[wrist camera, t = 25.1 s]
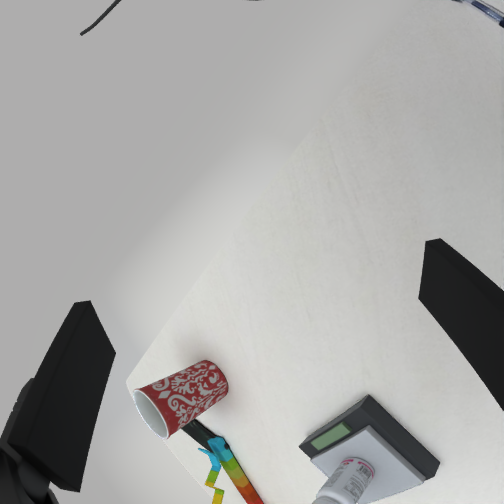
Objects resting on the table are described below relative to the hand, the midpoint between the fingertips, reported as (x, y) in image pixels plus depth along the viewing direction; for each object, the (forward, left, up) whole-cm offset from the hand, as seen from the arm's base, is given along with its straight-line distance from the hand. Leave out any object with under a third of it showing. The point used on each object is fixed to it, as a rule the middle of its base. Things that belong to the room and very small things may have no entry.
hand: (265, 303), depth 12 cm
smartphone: (-3, -59, -21) cm, 62 cm away
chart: (+13, -61, -21) cm, 65 cm away
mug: (-8, -42, -21) cm, 47 cm away
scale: (+16, -25, -21) cm, 36 cm away
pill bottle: (+16, -25, -17) cm, 34 cm away
